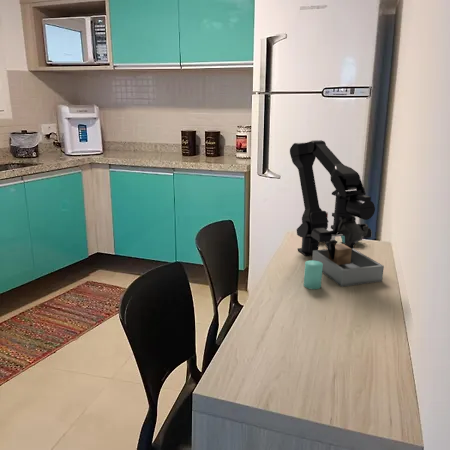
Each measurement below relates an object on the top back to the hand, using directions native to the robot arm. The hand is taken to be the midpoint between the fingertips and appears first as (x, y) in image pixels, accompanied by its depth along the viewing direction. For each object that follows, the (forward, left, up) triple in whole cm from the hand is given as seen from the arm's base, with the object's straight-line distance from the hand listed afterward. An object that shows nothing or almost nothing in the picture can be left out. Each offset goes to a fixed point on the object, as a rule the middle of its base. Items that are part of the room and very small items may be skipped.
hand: (339, 258), depth 143 cm
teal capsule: (+10, -15, -3) cm, 18 cm away
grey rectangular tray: (+4, 0, -3) cm, 5 cm away
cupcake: (-22, +18, -4) cm, 29 cm away
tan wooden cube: (0, 0, -1) cm, 1 cm away
